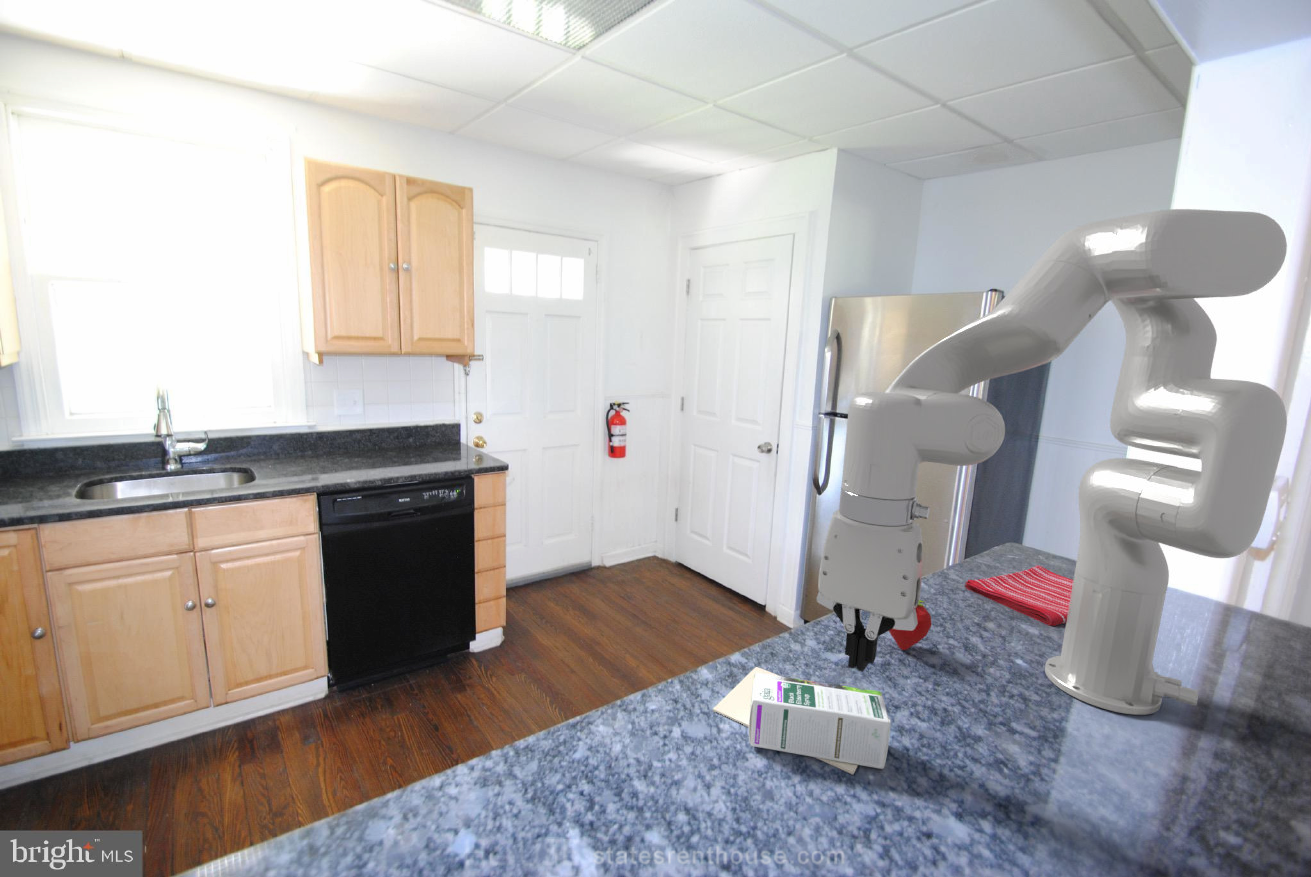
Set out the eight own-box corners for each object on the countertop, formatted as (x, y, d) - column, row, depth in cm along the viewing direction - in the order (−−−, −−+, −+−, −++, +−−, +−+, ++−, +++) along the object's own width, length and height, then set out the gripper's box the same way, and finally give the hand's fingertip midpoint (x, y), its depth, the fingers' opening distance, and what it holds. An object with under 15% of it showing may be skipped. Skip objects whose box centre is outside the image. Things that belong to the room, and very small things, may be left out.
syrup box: (891, 722, 60) (751, 697, 63) (885, 772, 61) (746, 745, 64) (882, 691, 66) (753, 669, 69) (876, 737, 67) (749, 714, 70)
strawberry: (907, 666, 82) (915, 600, 81) (868, 640, 89) (875, 579, 88) (937, 658, 85) (945, 594, 83) (897, 634, 92) (904, 574, 90)
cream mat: (883, 717, 71) (883, 715, 70) (853, 774, 61) (853, 772, 61) (755, 668, 80) (756, 666, 80) (712, 711, 70) (712, 708, 70)
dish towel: (959, 590, 111) (961, 577, 111) (1036, 574, 121) (1038, 562, 121) (1051, 631, 96) (1054, 616, 96) (1130, 608, 106) (1133, 595, 106)
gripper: (958, 514, 61) (937, 673, 64) (820, 489, 70) (807, 631, 73) (946, 531, 55) (923, 706, 58) (796, 501, 64) (783, 655, 67)
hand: (859, 664), depth 65 cm, fingers closed
